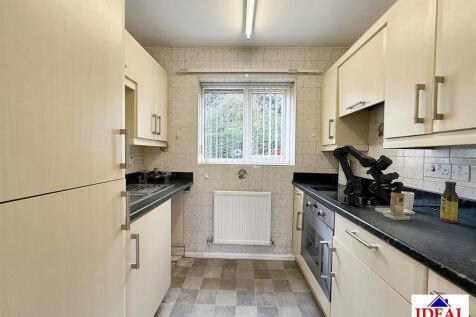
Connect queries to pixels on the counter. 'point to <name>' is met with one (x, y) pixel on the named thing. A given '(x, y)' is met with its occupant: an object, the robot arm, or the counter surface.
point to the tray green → (397, 217)
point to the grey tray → (408, 212)
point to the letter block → (397, 204)
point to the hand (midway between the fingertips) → (395, 200)
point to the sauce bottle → (449, 203)
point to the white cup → (408, 200)
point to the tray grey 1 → (382, 210)
